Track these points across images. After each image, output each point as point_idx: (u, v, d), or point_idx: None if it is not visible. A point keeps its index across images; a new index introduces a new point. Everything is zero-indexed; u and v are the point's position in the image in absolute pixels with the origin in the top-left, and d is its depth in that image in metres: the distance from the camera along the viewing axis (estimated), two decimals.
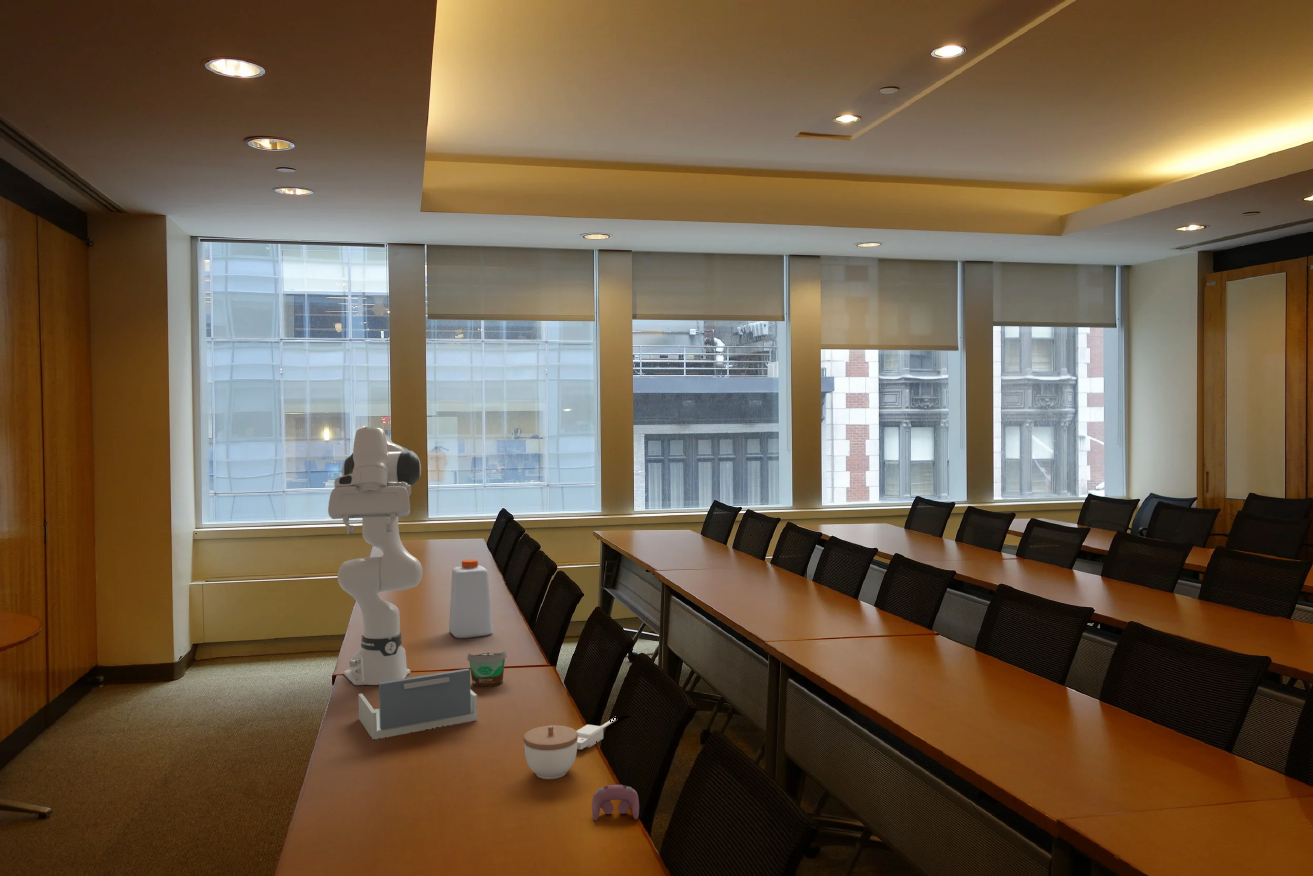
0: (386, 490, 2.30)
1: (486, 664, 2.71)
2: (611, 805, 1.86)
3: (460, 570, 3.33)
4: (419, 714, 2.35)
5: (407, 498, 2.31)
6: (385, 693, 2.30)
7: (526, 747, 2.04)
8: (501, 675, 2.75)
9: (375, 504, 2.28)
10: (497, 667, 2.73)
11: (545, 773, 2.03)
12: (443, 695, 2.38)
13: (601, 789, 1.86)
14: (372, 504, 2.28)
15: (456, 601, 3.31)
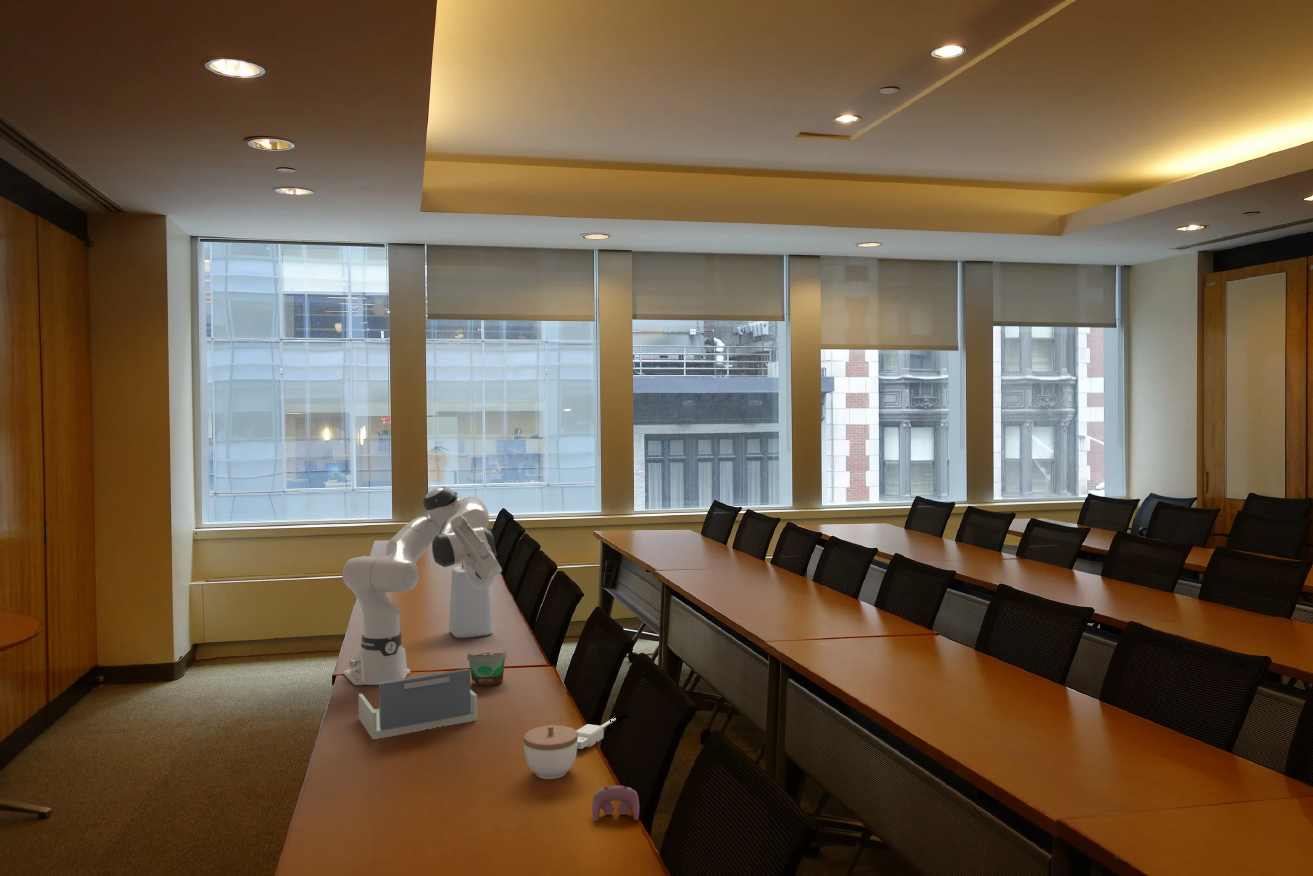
0: (462, 544, 2.56)
1: (486, 664, 2.71)
2: (611, 806, 1.86)
3: (460, 570, 3.33)
4: (419, 714, 2.35)
5: (452, 527, 2.56)
6: (385, 693, 2.30)
7: (526, 747, 2.04)
8: (501, 675, 2.75)
9: (466, 543, 2.52)
10: (497, 667, 2.73)
11: (545, 773, 2.03)
12: (443, 695, 2.38)
13: (601, 790, 1.86)
14: (467, 545, 2.52)
15: (456, 601, 3.31)
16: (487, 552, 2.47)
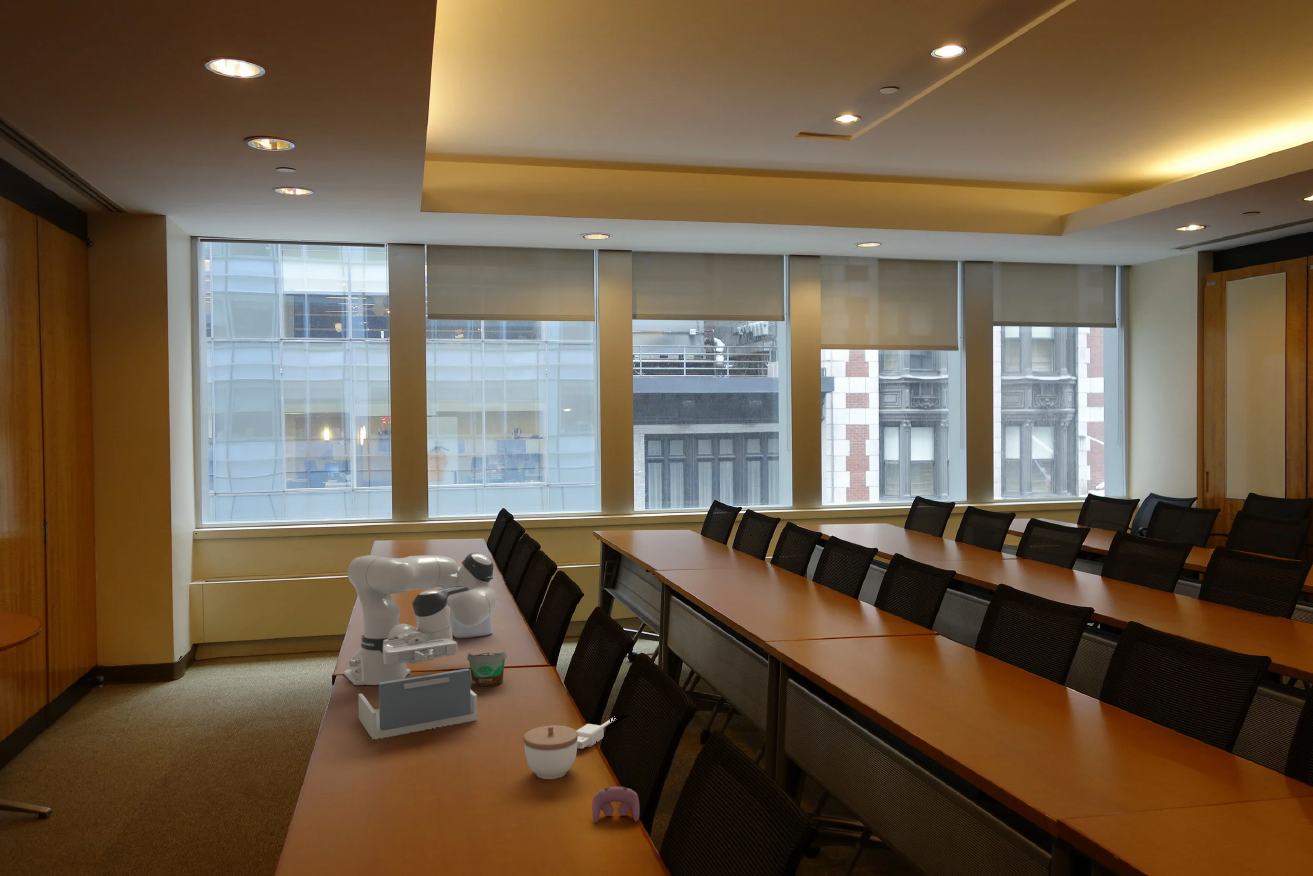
0: (431, 640, 2.52)
1: (486, 664, 2.71)
2: (611, 807, 1.85)
3: None
4: (419, 714, 2.35)
5: (451, 640, 2.52)
6: (385, 693, 2.30)
7: (526, 747, 2.04)
8: (501, 675, 2.75)
9: (426, 644, 2.47)
10: (497, 667, 2.73)
11: (545, 773, 2.03)
12: (443, 695, 2.38)
13: (601, 791, 1.85)
14: (423, 645, 2.47)
15: None
16: (416, 658, 2.42)
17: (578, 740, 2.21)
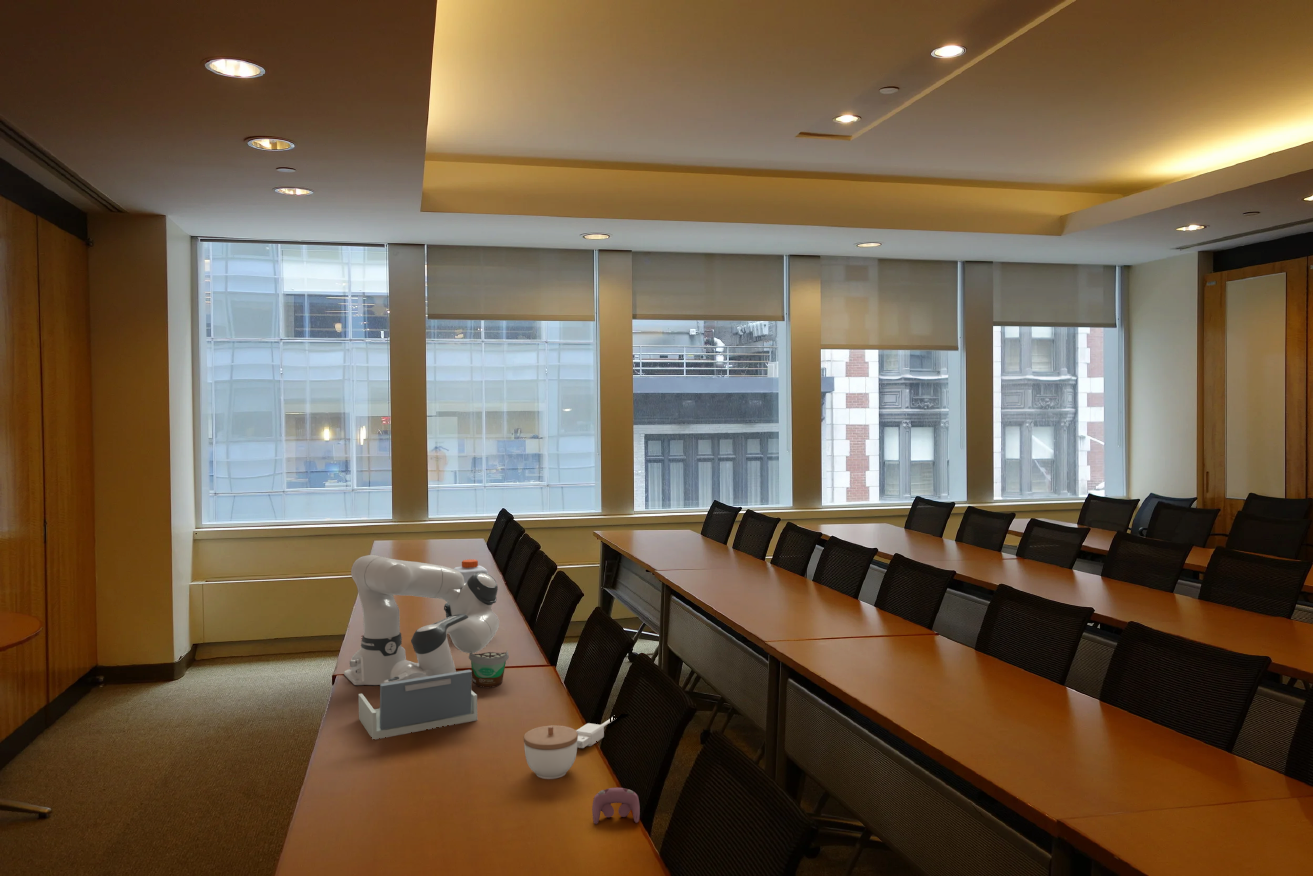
0: None
1: (488, 666, 2.70)
2: (611, 808, 1.85)
3: (460, 570, 3.33)
4: (419, 715, 2.35)
5: None
6: (386, 694, 2.29)
7: (526, 747, 2.04)
8: (502, 675, 2.75)
9: None
10: (499, 668, 2.73)
11: (545, 773, 2.03)
12: (444, 696, 2.37)
13: (601, 792, 1.85)
14: None
15: None
16: None
17: (578, 739, 2.21)
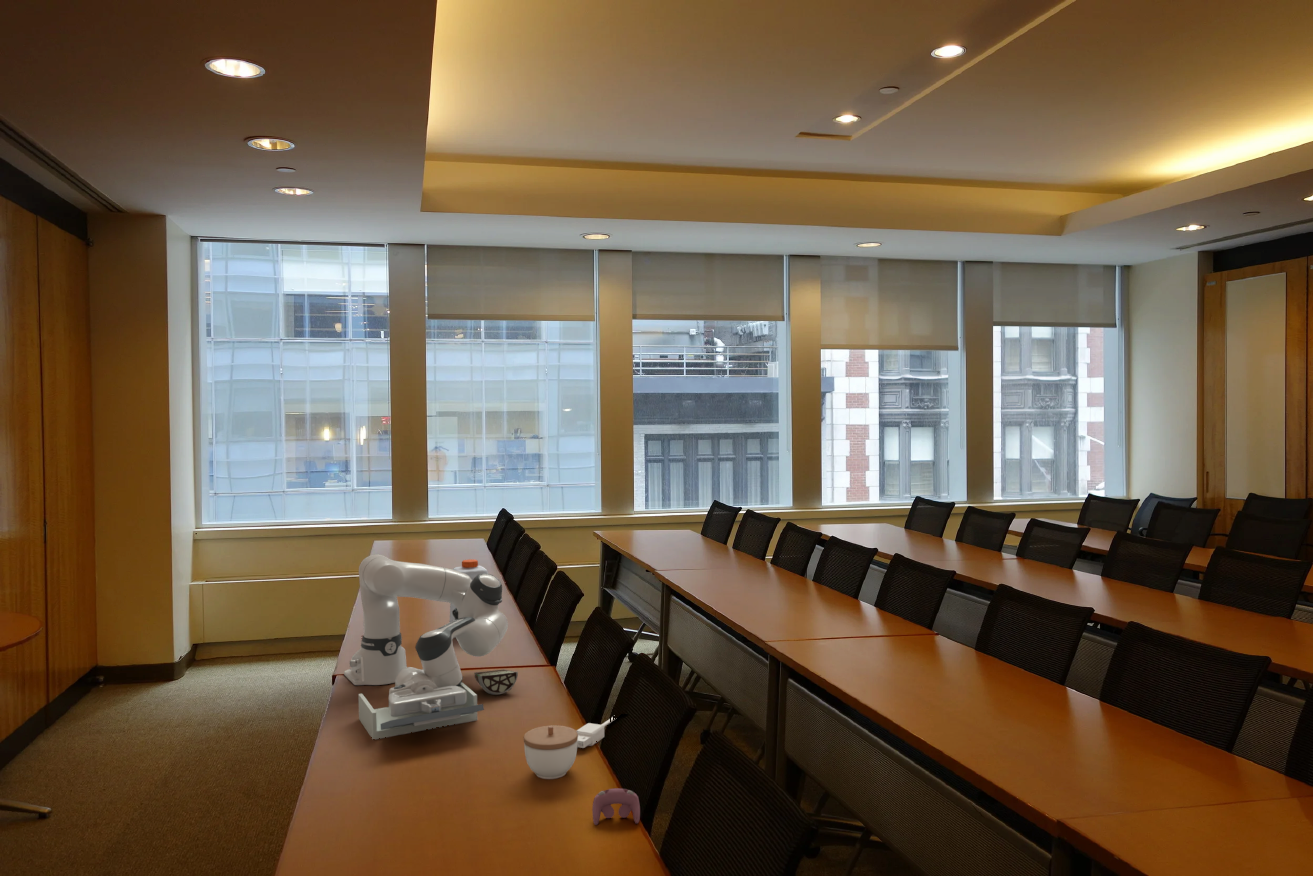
0: (439, 688, 2.40)
1: None
2: (612, 809, 1.84)
3: (460, 570, 3.33)
4: None
5: (461, 688, 2.41)
6: (394, 726, 2.23)
7: (526, 747, 2.04)
8: None
9: (433, 694, 2.36)
10: None
11: (545, 773, 2.03)
12: None
13: (602, 793, 1.85)
14: (430, 694, 2.35)
15: None
16: (423, 709, 2.31)
17: (579, 739, 2.21)
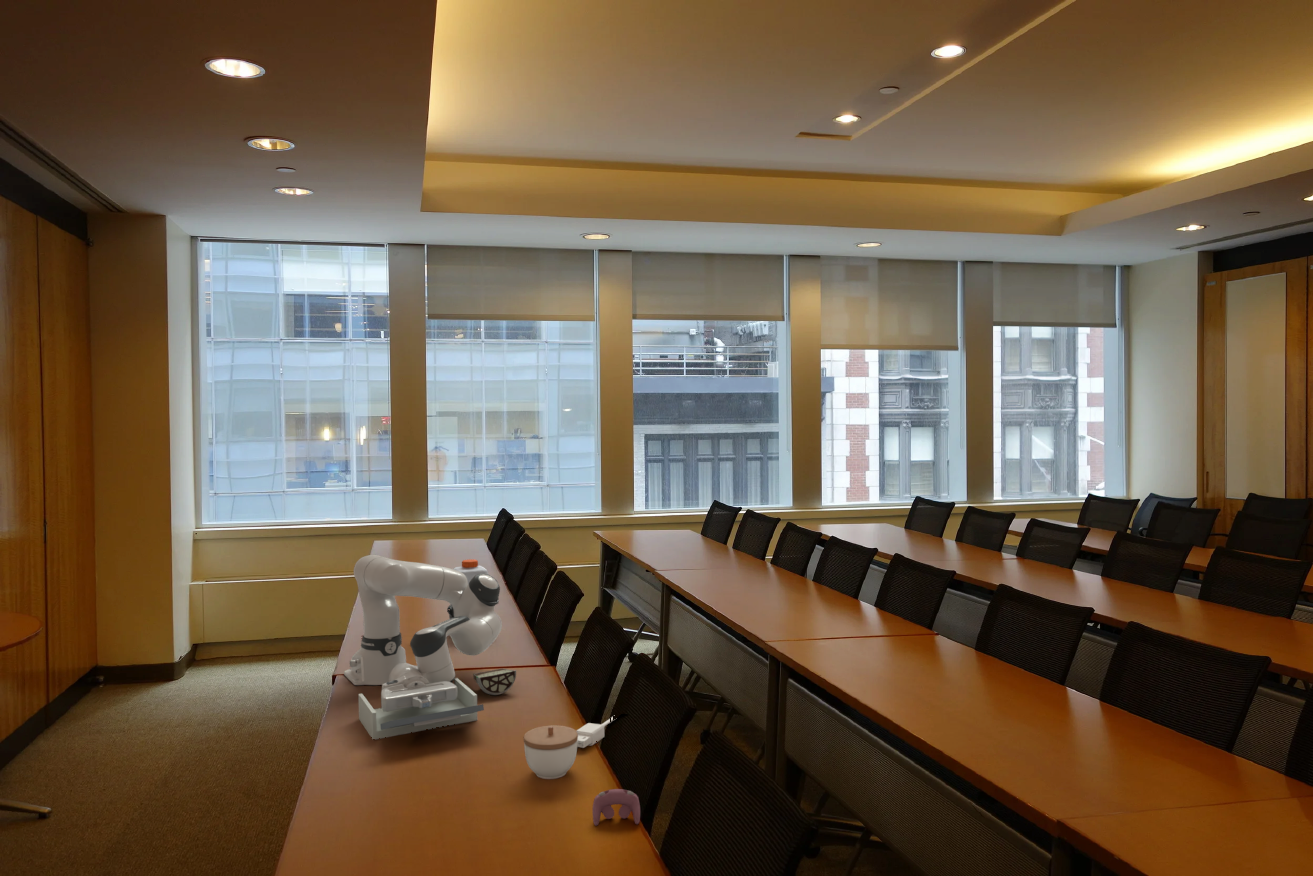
0: (431, 684, 2.46)
1: None
2: (612, 810, 1.84)
3: (460, 570, 3.33)
4: None
5: (452, 683, 2.46)
6: (394, 726, 2.23)
7: (526, 747, 2.04)
8: None
9: (425, 689, 2.41)
10: None
11: (545, 773, 2.03)
12: None
13: (602, 794, 1.84)
14: (422, 690, 2.41)
15: None
16: (414, 704, 2.36)
17: (579, 739, 2.21)
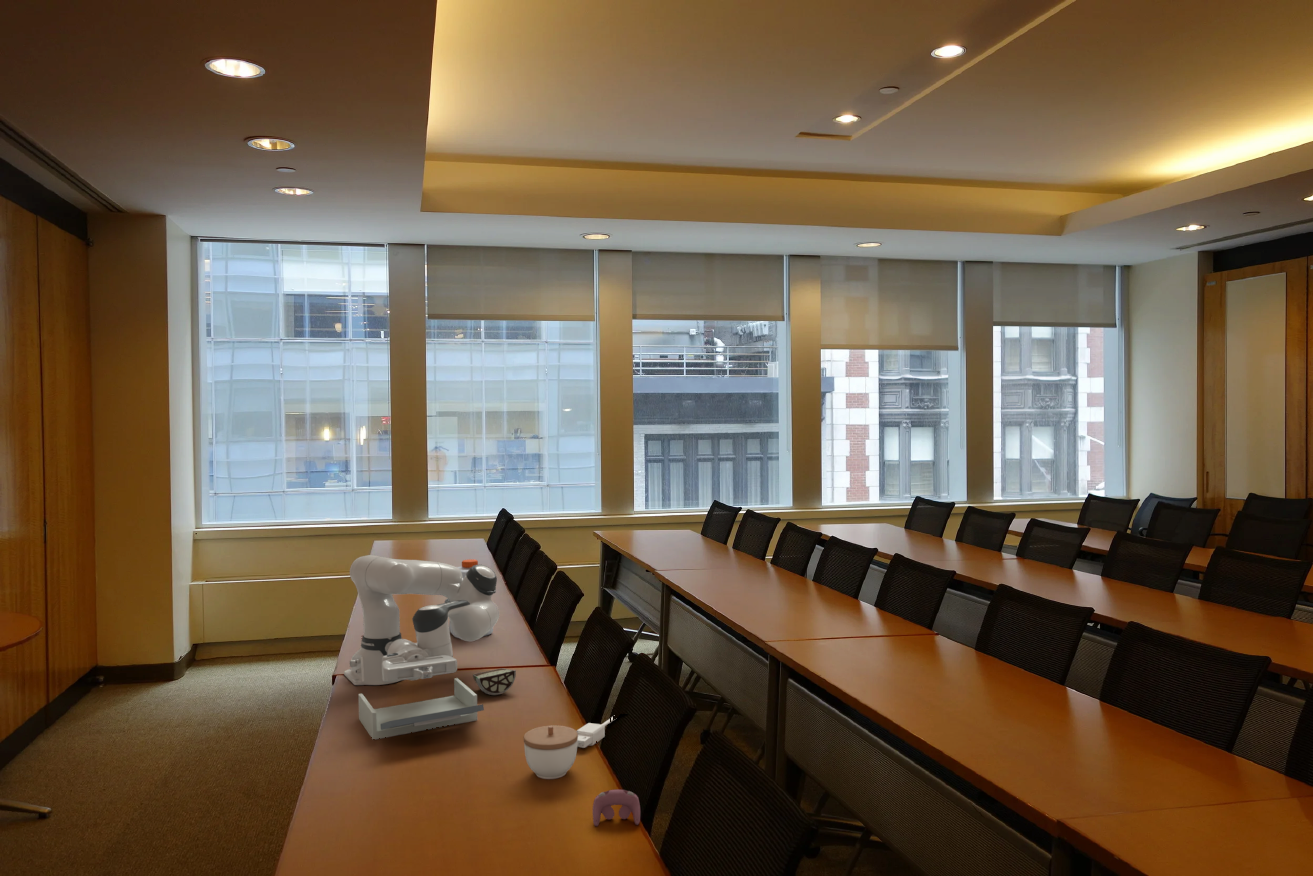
0: (431, 657, 2.49)
1: None
2: (612, 810, 1.84)
3: (460, 570, 3.33)
4: None
5: (451, 657, 2.49)
6: (394, 726, 2.23)
7: (526, 747, 2.04)
8: None
9: (425, 661, 2.44)
10: None
11: (545, 773, 2.03)
12: None
13: (602, 794, 1.84)
14: (422, 662, 2.44)
15: None
16: (415, 675, 2.39)
17: (580, 739, 2.22)
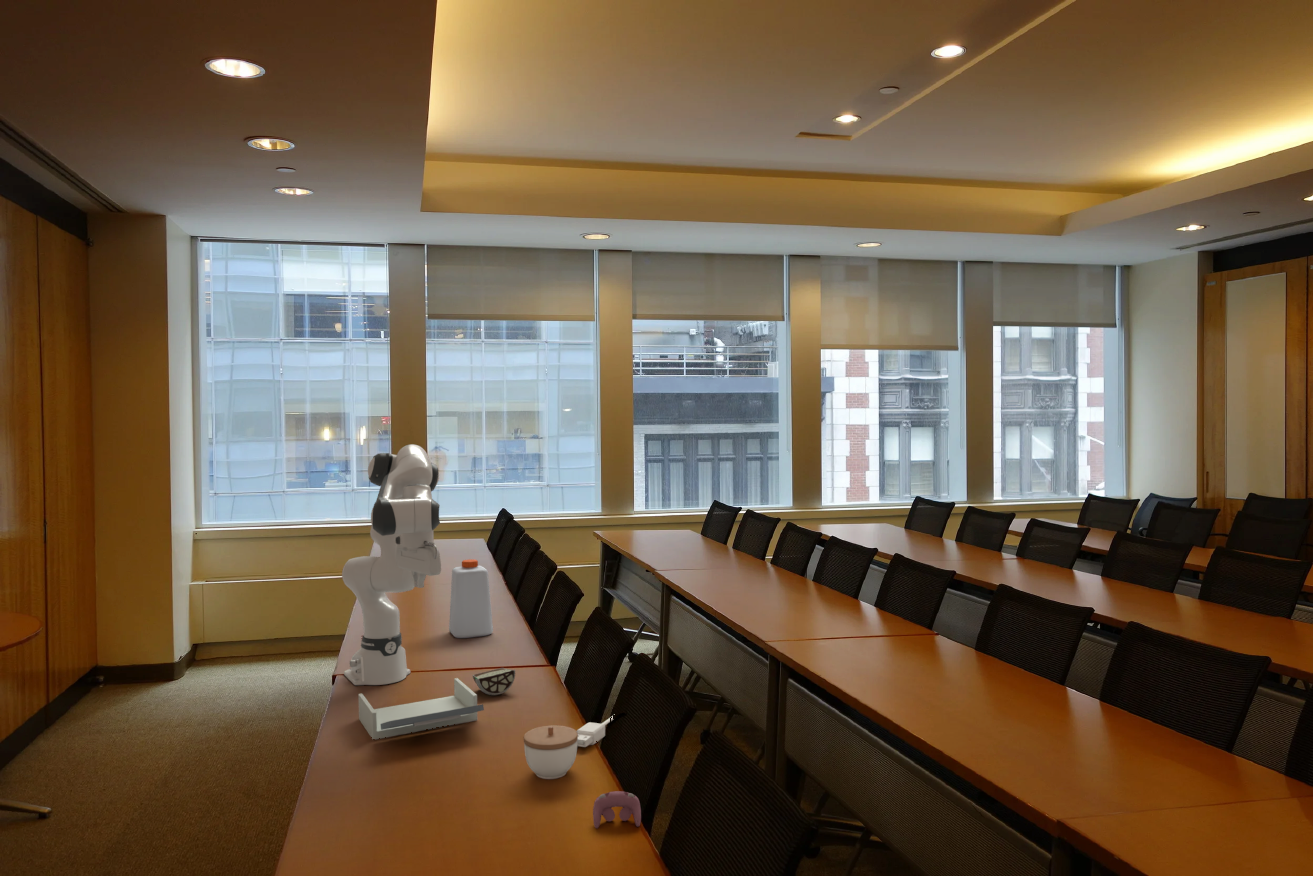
0: (419, 552, 2.52)
1: None
2: (612, 812, 1.83)
3: (460, 570, 3.33)
4: None
5: (429, 563, 2.49)
6: (394, 726, 2.23)
7: (526, 747, 2.04)
8: None
9: (415, 564, 2.54)
10: None
11: (545, 773, 2.03)
12: None
13: (602, 796, 1.83)
14: (413, 564, 2.55)
15: (456, 601, 3.31)
16: None
17: (581, 738, 2.22)
